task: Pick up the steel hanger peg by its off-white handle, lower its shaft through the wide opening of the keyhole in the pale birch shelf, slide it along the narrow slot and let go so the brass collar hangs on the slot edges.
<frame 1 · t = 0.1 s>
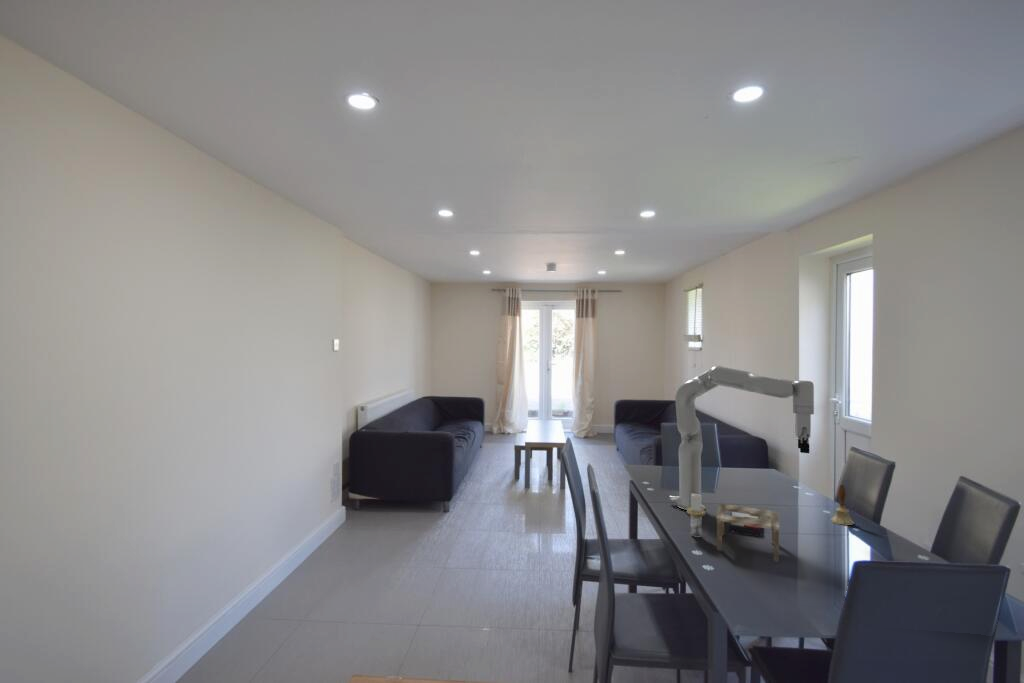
hand: (803, 450, 195), 31 cm above the table, tool pointing down, fingers open, 9 cm apart
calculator: (744, 529, 191), on the table
hand bell: (842, 522, 198), on the table
hanger peg: (696, 536, 182), on the table
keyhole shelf: (747, 547, 172), on the table
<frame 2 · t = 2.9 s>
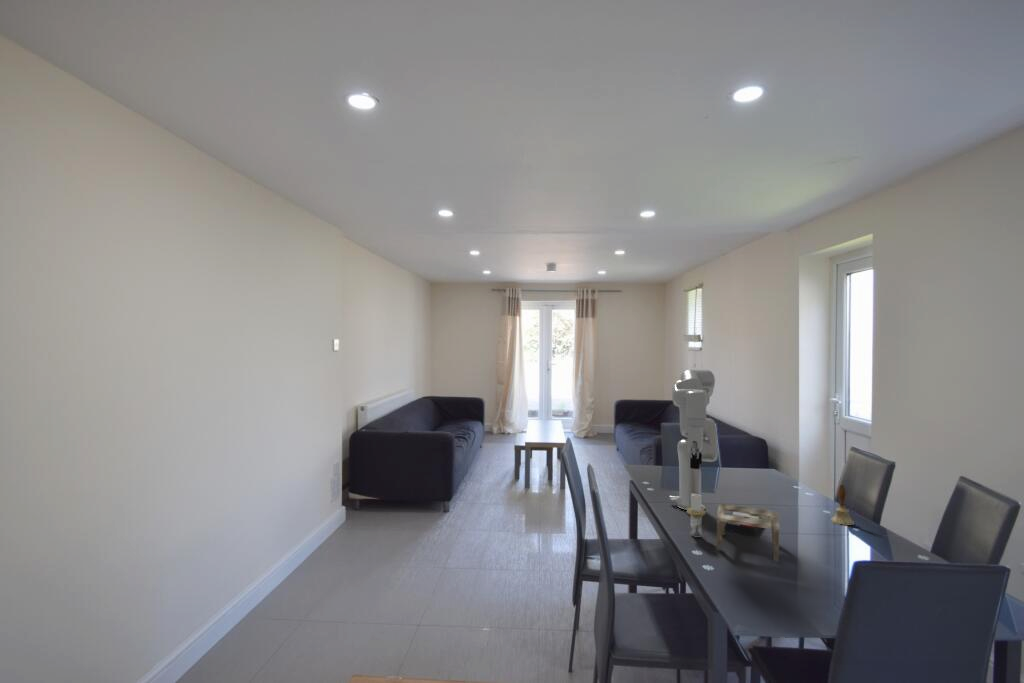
hand: (696, 465, 182), 27 cm above the table, tool pointing down, fingers open, 9 cm apart
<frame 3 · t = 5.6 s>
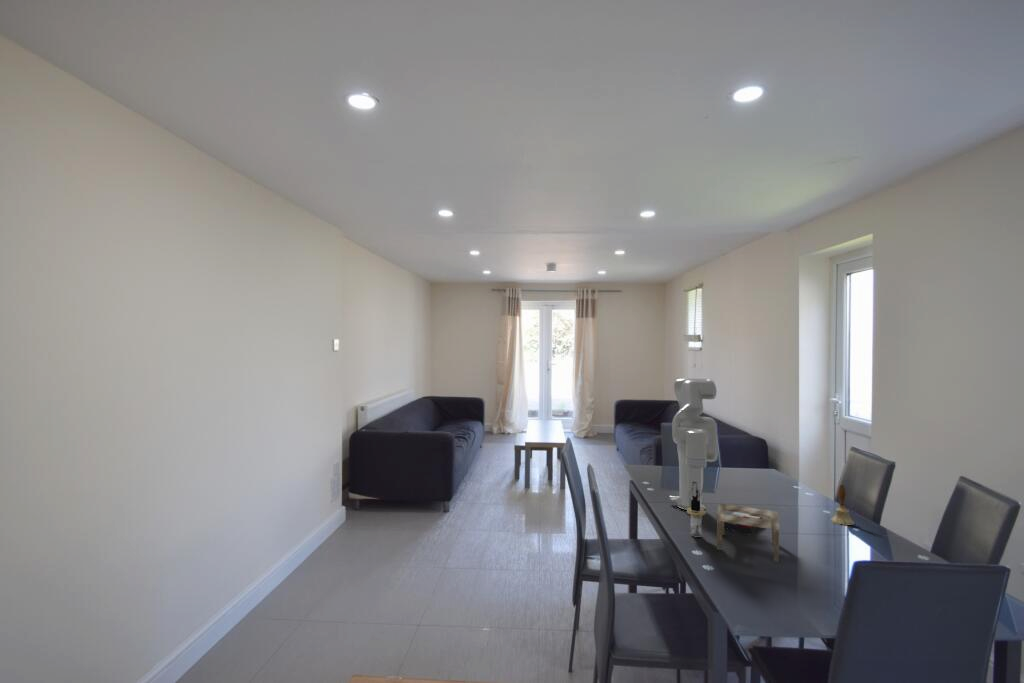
hand: (696, 508, 182), 11 cm above the table, tool pointing down, fingers closed on hanger peg, 3 cm apart
hanger peg: (696, 535, 182), on the table, touching gripper
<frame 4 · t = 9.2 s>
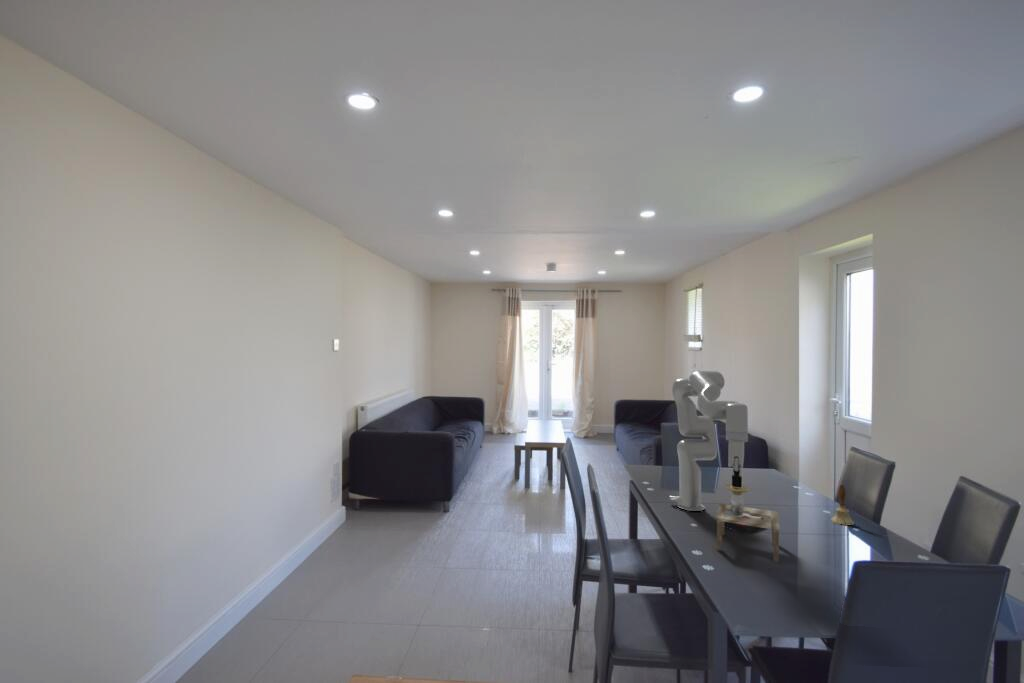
hand: (737, 484, 174), 23 cm above the table, tool pointing down, fingers closed on hanger peg, 3 cm apart
hanger peg: (737, 513, 173), point 12 cm above the table, touching gripper
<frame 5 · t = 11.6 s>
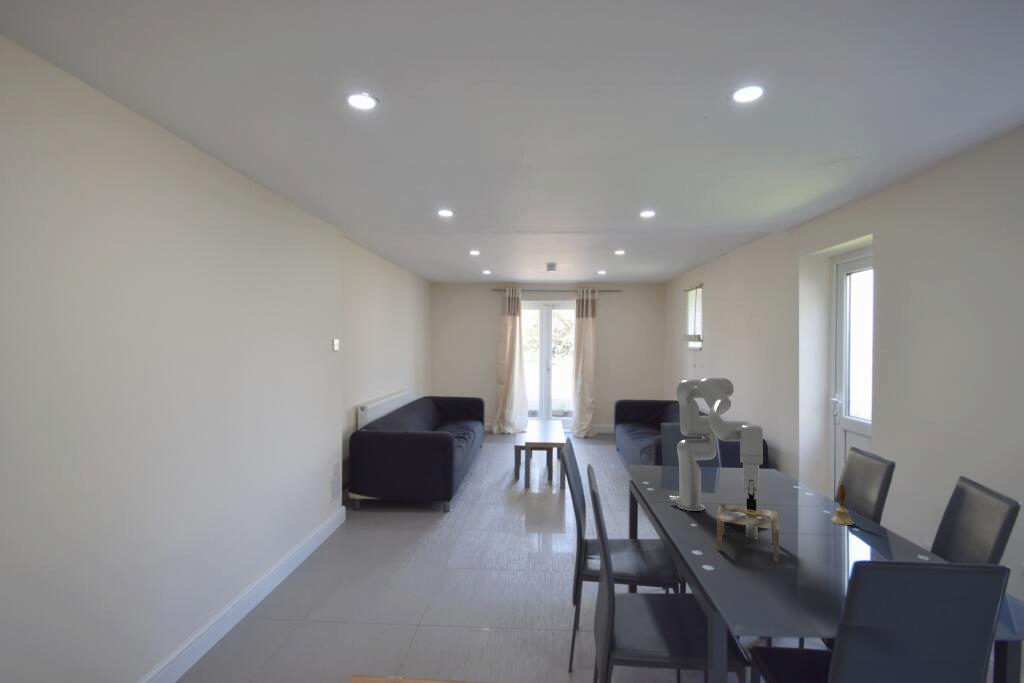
hand: (751, 507, 171), 15 cm above the table, tool pointing down, fingers closed on hanger peg, 3 cm apart
hanger peg: (751, 536, 171), point 4 cm above the table, touching gripper
when the fingers open (14 cm above the table, at t = 13.1 s): hanger peg stays where it is, resting on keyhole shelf.
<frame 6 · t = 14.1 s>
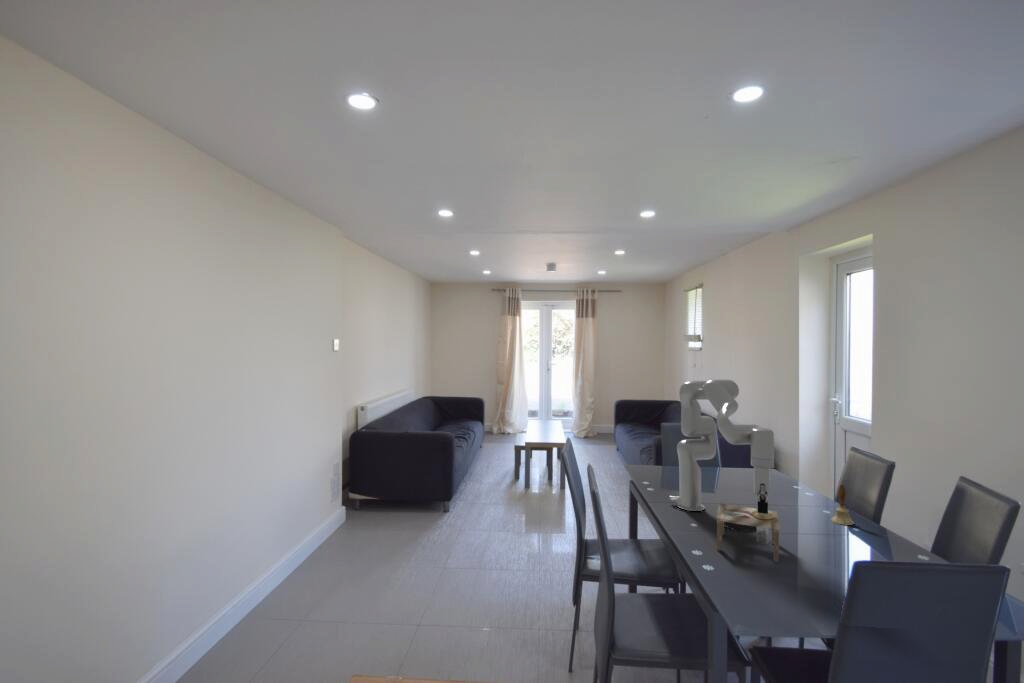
hand: (762, 508, 170), 15 cm above the table, tool pointing down, fingers open, 9 cm apart
hanger peg: (762, 541, 170), point 3 cm above the table, touching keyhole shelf
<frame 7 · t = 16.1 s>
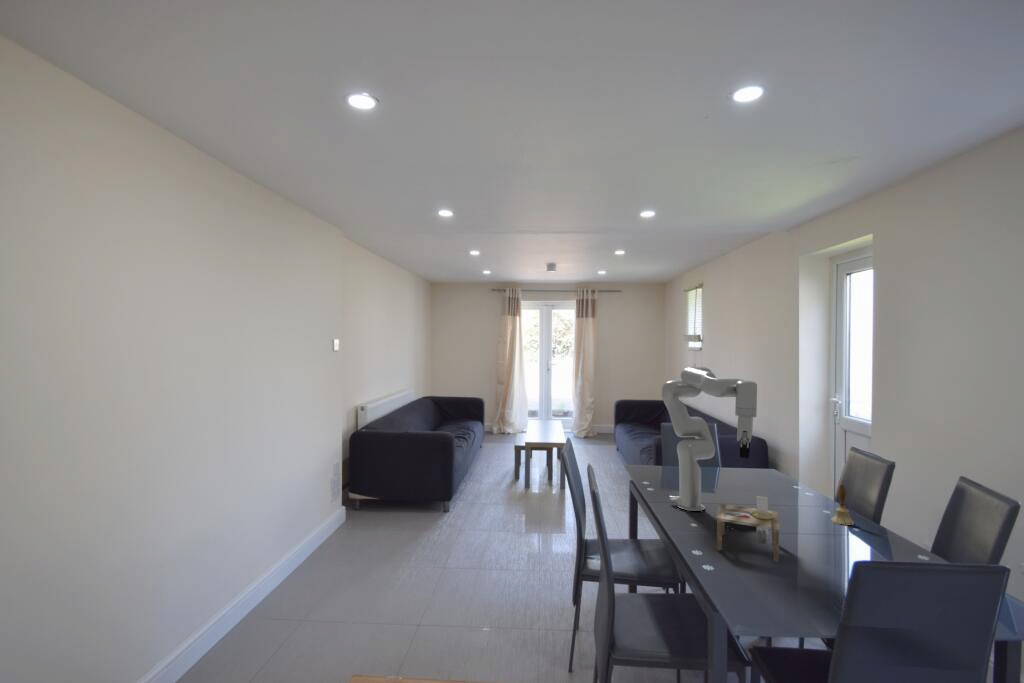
hand: (744, 454, 184), 32 cm above the table, tool pointing down, fingers open, 9 cm apart
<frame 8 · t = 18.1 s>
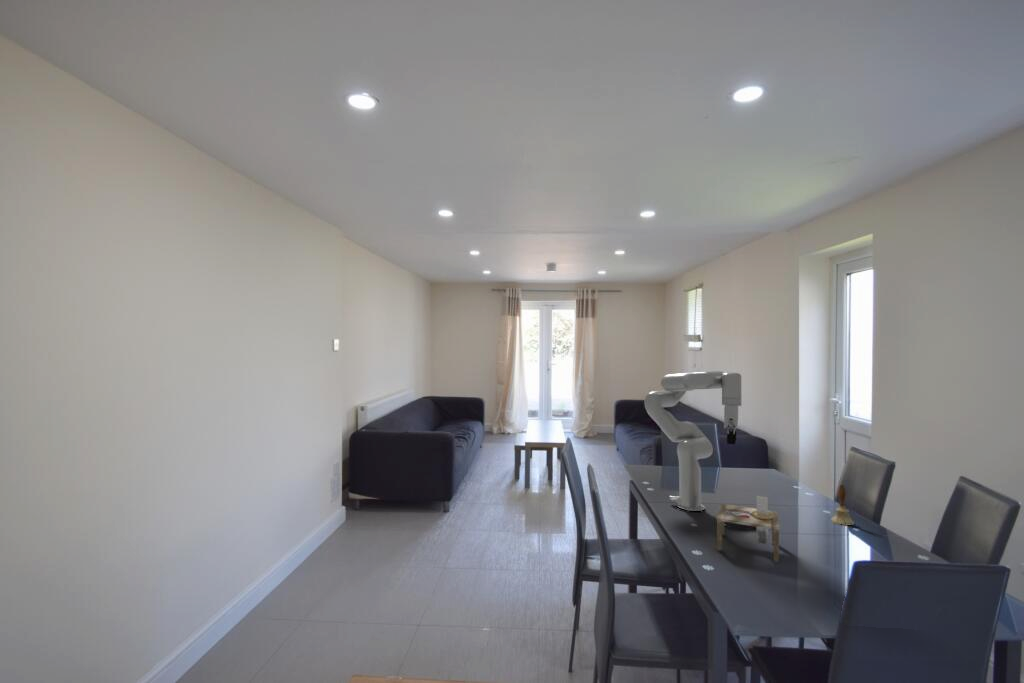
hand: (731, 441, 197), 34 cm above the table, tool pointing down, fingers open, 9 cm apart
at the end: hanger peg 0.3 cm from the target spot on the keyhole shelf, point 3.0 cm above the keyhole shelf's base; hanger peg tilted 0°; the gripper is holding nothing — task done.
